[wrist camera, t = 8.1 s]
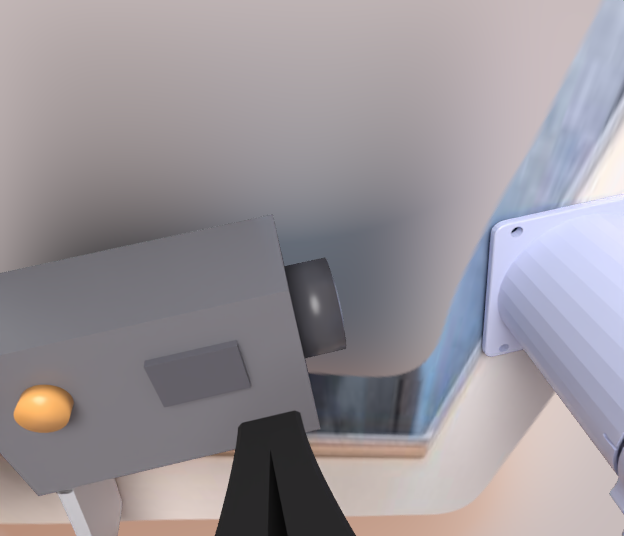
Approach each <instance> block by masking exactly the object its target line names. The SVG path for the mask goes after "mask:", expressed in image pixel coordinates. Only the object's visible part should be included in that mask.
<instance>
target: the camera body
mask: <svg viewBox="0 0 624 536" xmlns="http://www.w3.org/2000/svg"><path fill="white" fill-rule="evenodd" d="M343 349H346V339H345V332H344V321H343V316H342V310H341V306H340V301H339V297H338V293H337V289H336V286H335V282H334V279H333V277H332V274H331V271H330V268H329V265H328V262H327V260H326V258H321V259H316V260H311V261H307V262H302V263H298V264H293V265H289V266H284V262H283V258H282V253H281V249H280V244H279V240H278V236H277V231H276V227H275V222H274V218H273V215H267V216H263V217H258V218H254V219H249V220H244V221H239V222H235V223H230V224H225V225H221V226H216V227H212V228H207V229H202V230H198V231H193V232H188V233H184V234H180V235H175V236H170V237H165V238H161V239H156V240H152V241H147V242H143V243H138V244H133V245H128V246H124V247H119V248H114V249H110V250H105V251H100V252H96V253H91V254H86V255H82V256H77V257H73V258H68V259H63V260H59V261H54V262H50V263H45V264H40V265H36V266H31V267H26V268H22V269H17V270H13V271H8V272H4V273H0V454H1V455H2V456H3V457H4V458H5V459H6V460H7V461H8V463H9V464H10V465H11V466H12V467H13V468H14V469H15V470H16V471H17V473H18V474H19V475H20V476H21V477H22V478H23V479H24V480H25V482H26V483H27V484H28V485H29V486H30V487H31V488H32V489H33V490H34V492H35V493H36V494H37V495H38V496H41V495H46V494H50V493H54V492H58V491H62V490H67V489H71V488H75V487H79V486H83V485H87V484H92V483H96V482H100V481H104V480H108V479H113V478H117V477H121V476H125V475H129V474H134V473H138V472H142V471H146V470H150V469H154V468H159V467H163V466H167V465H171V464H175V463H180V462H184V461H188V460H192V459H196V458H201V457H205V456H209V455H213V454H217V453H221V452H226V451H230V450H234V449H235V448H236V441H237V433H238V427H239V426H240V424H241V423H243V422H247V421H252V420H256V419H260V418H264V417H268V416H273V415H277V414H281V413H285V412H290V411H294V410H295V411H298V412H300V413H301V417H302V421H303V425H304V429H305V432H309V431H314V430H318V429H320V425H319V420H318V416H317V411H316V406H315V402H314V397H313V393H312V388H311V383H310V379H309V374H308V369H307V365H306V360H305V358H308V357H312V356H317V355H321V354H325V353H330V352H334V351H338V350H343Z"/></svg>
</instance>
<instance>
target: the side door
mask: <svg viewBox="0 0 624 536" xmlns="http://www.w3.org/2000/svg"><path fill="white" fill-rule="evenodd" d="M56 493H58V495H59V498H60V500H61V502H62V504H63V507H64V509H65V511H66V513H67V516H68V518H69V520H70V522H71V524H72V527H73V529H74V531H75V533H76V536H118V530H119V524H120V518H121V511H122V505H123V503H122V500H121V497H120V494H119V490H118V487H117V484H116V481H115V478H113V479H108V480H104V481H100V482H96V483H92V484H87V485H83V486H79V487H75V488H71V489H67V490H62V491H58V492H56Z"/></svg>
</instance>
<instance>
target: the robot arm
mask: <svg viewBox="0 0 624 536" xmlns="http://www.w3.org/2000/svg"><path fill="white" fill-rule="evenodd" d="M516 227H518V228H517V230H516V231H515V232H513V233H511V232H512V230H513V229H514V228H516ZM482 349H483V351H484V353H485V354H486V355H487V356H490V357H491V356H497V355H501V354H506V353H510V352H514V351H518V350H523V349H524V350H525V352H526V353H527V354H528V356H529V357H530V358H531V360H532V361H533V363H534V364H535V365H536V367H537V368H538V369H539V371H540V372H541V373H542V375H543V376H544V377H545V379H546V380H547V381H548V383H549V384H550V385H551V387H552V388H553V389H554V391H555V392H556V393H557V395H558V396H559V397H560V399H561V400H562V401H563V403H564V404H565V405H566V407H567V408H568V409H569V411H570V412H571V413H572V415H573V416H574V417H575V419H576V420H577V422H578V423H579V424H580V425H581V427H582V428H583V429H584V431H585V432H586V434H587V435H588V436H589V438H590V439H591V440H592V442H593V443H594V444H595V445H596V447H597V448H598V450H599V451H600V452H601V454H602V455H603V456H604V458H605V459H606V460H607V461H608V463H609V464H610V466H611V467H612V468H613V470H614V471H615V472H616V474H617V475H618V481H617V483H616V484H615V486H614V487H613V489H612V490H611V491H610V493H609V494H610V495H611V497H612V498H613V500H614V501H615V503H616V504H617V505H618V507H619V508H620V510H621V511H622V513H623V514H624V194H621V195H616V196H612V197H607V198H603V199H598V200H594V201H589V202H585V203H580V204H576V205H571V206H567V207H562V208H558V209H553V210H549V211H544V212H540V213H535V214H531V215H526V216H522V217H517V218H513V219H508V220H504V221H501V222H498V223H497V224H496V225H495V226H494V227H493V228H492V231H491V238H490V251H489V264H488V277H487V291H486V304H485V317H484V330H483V344H482ZM215 536H356V535H355V533H354V532H353V530H352V528H351V527H350V525H349V523H348V521H347V520H346V518H345V516H344V514H343V513H342V511H341V509H340V507H339V505H338V504H337V502H336V500H335V498H334V496H333V494H332V492H331V490H330V488H329V486H328V484H327V482H326V480H325V478H324V476H323V474H322V472H321V470H320V468H319V466H318V464H317V461H316V459H315V457H314V454H313V452H312V449H311V447H310V444H309V442H308V439H307V436H306V432H305V429H304V425H303V421H302V417H301V413H300V412H298V411H295V410H294V411H290V412H285V413H281V414H277V415H273V416H268V417H264V418H260V419H256V420H252V421H247V422H243V423H241V424H240V426H239V427H238V433H237V441H236V448H235V454H234V460H233V465H232V470H231V474H230V479H229V484H228V488H227V492H226V496H225V500H224V504H223V508H222V511H221V515H220V519H219V523H218V527H217V530H216V534H215ZM622 536H624V530H623V533H622Z"/></svg>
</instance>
